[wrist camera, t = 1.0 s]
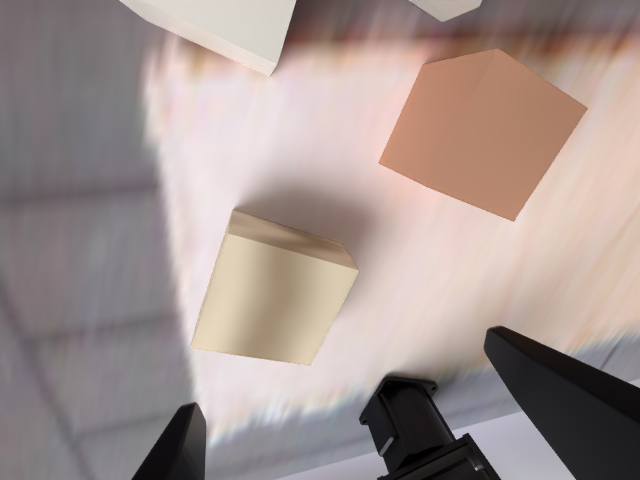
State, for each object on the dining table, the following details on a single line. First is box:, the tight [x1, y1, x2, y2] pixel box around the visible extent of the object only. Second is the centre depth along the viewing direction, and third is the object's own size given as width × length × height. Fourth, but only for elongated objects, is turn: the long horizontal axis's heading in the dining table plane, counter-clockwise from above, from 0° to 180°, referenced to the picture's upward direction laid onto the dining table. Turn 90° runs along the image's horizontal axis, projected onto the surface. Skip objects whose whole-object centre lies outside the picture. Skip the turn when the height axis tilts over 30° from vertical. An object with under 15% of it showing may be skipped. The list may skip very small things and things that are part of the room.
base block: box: [190, 210, 360, 366], centre depth 19 cm, size 8×8×4 cm
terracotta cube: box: [379, 48, 588, 222], centre depth 16 cm, size 6×6×6 cm
